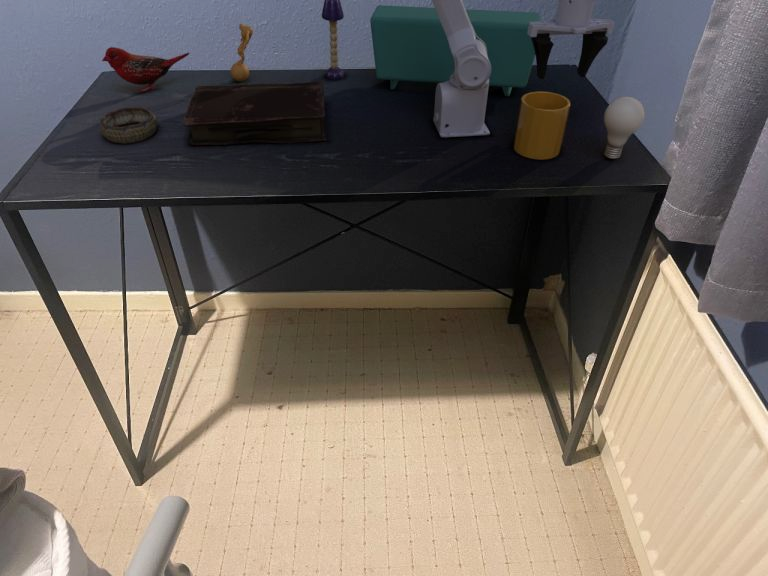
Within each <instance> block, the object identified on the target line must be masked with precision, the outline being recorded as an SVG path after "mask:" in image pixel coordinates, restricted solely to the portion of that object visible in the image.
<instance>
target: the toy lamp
mask: <svg viewBox="0 0 768 576" xmlns="http://www.w3.org/2000/svg"><path fill="white" fill-rule="evenodd" d="M344 17H345V14H344V10H343V7H342V3H341V0H324V1H323V6H322V11H321V18H322V19H323V20H324V21H328V24H329V32H330V33H329V39H330V40H329V47H330V49H329V52H330V57H329V59H330V67H329V68H328V69H327V70H326V72H325V78H326V79H328V80H333V81H334V80H335V81H336V80H342V79H343V78H345V73H344V70H343V69H342V68H340V67H339V63H338V61H339V56H338V54H339V49H338V45H339V42H338V37H339V35H338V21H341V20H343V19H344Z"/></svg>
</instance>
